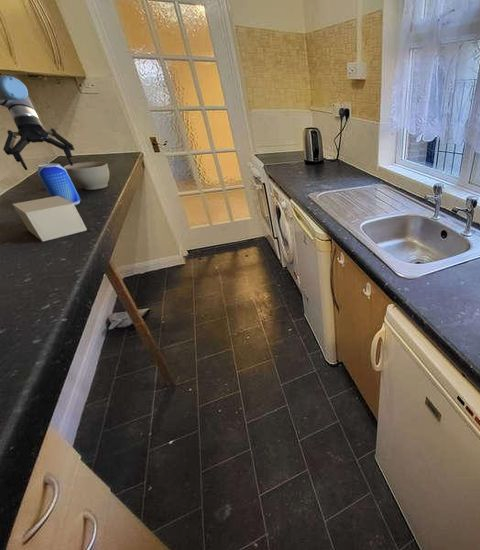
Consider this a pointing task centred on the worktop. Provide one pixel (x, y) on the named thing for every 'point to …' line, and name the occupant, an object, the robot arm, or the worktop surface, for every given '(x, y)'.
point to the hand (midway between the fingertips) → (49, 165)
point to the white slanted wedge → (50, 217)
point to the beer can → (58, 182)
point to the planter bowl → (89, 174)
